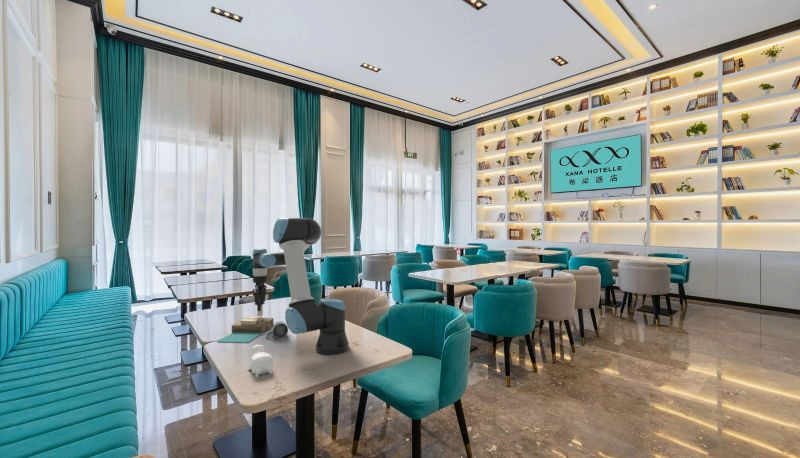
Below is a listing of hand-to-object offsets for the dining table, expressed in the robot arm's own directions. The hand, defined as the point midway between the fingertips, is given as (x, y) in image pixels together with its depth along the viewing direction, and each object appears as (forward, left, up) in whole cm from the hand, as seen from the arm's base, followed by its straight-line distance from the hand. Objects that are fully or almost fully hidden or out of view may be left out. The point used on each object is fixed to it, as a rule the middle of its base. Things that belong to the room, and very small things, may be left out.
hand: (260, 315), depth 202 cm
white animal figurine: (-61, -29, -6) cm, 68 cm away
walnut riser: (-8, 0, -5) cm, 9 cm away
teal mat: (-23, -1, -5) cm, 24 cm away
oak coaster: (-10, 0, -1) cm, 10 cm away
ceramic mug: (-20, -19, -5) cm, 28 cm away
